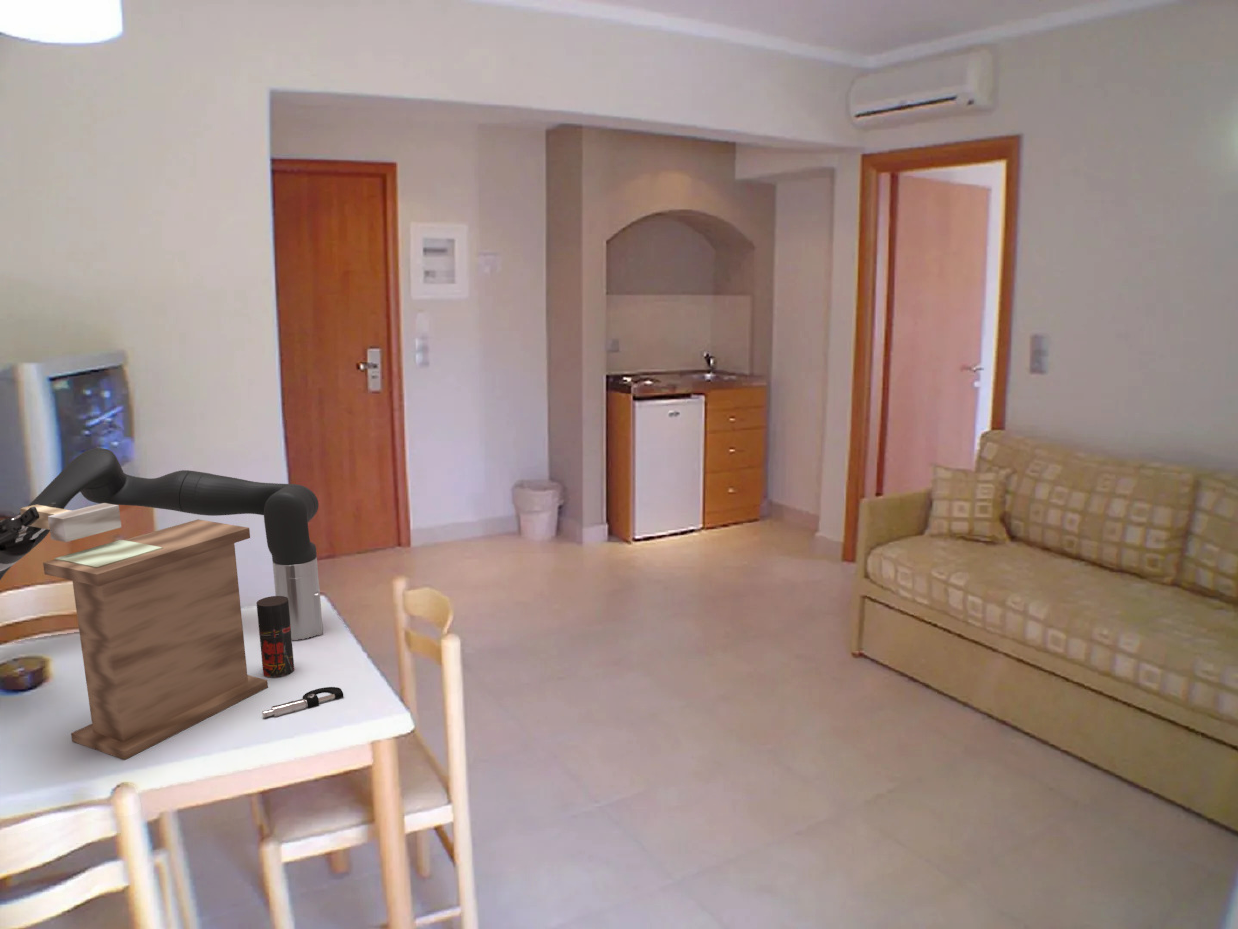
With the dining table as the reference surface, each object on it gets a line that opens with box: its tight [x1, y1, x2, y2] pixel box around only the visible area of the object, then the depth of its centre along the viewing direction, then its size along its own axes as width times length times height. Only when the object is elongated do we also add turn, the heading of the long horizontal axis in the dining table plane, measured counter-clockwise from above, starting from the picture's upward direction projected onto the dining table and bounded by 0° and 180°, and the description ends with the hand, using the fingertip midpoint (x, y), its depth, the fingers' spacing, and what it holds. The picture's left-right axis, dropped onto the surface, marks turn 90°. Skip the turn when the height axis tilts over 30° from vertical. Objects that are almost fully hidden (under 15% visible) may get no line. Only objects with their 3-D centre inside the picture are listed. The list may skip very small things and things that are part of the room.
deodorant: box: [256, 595, 295, 679], centre depth 183 cm, size 6×6×15 cm
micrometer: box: [261, 686, 344, 719], centre depth 171 cm, size 15×7×2 cm, turn 124°
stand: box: [42, 519, 269, 761], centre depth 164 cm, size 15×30×32 cm, turn 153°
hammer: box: [19, 503, 122, 543], centre depth 160 cm, size 18×10×4 cm, turn 63°
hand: (45, 509), depth 162 cm, fingers closed on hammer, 3 cm apart
